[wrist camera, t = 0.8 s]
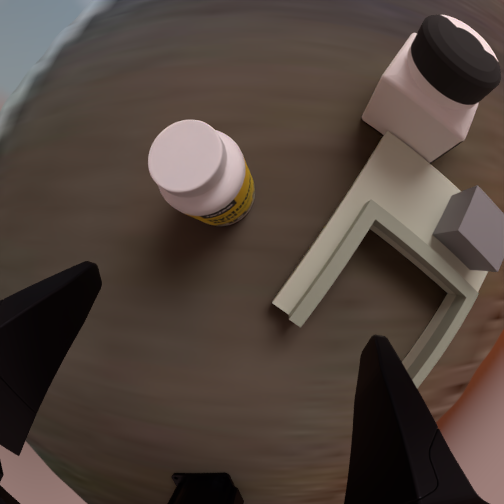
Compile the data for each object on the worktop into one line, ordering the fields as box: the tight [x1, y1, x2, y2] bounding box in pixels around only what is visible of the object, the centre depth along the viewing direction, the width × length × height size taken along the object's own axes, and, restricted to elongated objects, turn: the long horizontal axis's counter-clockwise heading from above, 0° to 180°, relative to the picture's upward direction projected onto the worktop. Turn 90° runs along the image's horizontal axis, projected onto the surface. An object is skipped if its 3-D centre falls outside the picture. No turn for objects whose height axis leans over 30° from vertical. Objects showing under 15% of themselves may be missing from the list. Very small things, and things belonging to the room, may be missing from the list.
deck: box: [272, 131, 504, 388], centre depth 19 cm, size 16×14×6 cm
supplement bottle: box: [148, 120, 255, 226], centre depth 18 cm, size 5×5×10 cm
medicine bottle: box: [362, 15, 501, 163], centre depth 15 cm, size 7×7×12 cm
